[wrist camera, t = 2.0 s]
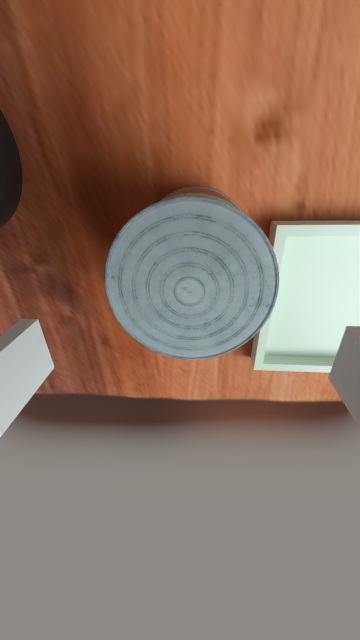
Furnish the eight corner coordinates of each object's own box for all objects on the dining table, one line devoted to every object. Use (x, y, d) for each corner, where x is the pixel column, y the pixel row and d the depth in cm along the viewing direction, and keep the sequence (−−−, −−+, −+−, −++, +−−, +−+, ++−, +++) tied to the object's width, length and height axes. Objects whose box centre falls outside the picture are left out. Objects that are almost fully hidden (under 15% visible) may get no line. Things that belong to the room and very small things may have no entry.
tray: (250, 357, 33) (253, 369, 31) (271, 221, 25) (277, 225, 23) (387, 362, 32) (399, 375, 30) (457, 219, 24) (482, 223, 22)
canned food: (149, 296, 30) (121, 360, 20) (134, 191, 25) (84, 203, 14) (246, 293, 29) (269, 359, 19) (253, 181, 24) (291, 188, 13)
